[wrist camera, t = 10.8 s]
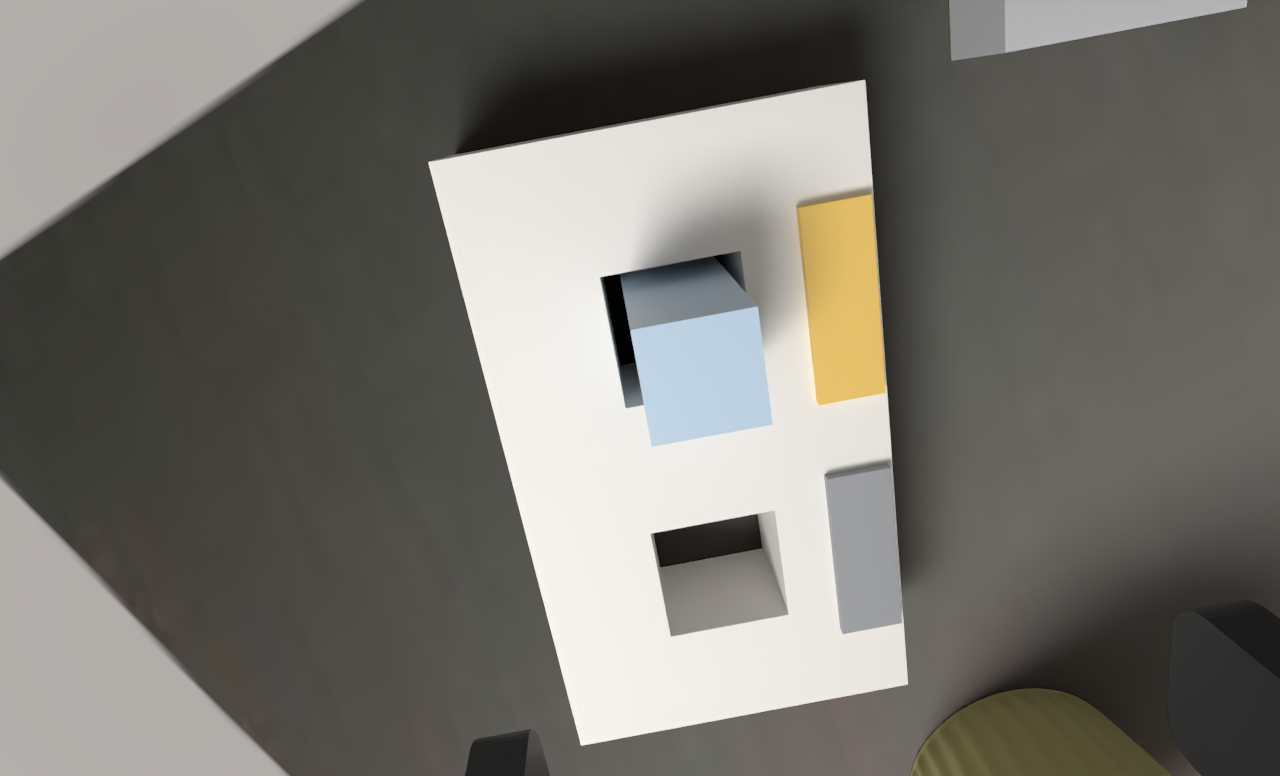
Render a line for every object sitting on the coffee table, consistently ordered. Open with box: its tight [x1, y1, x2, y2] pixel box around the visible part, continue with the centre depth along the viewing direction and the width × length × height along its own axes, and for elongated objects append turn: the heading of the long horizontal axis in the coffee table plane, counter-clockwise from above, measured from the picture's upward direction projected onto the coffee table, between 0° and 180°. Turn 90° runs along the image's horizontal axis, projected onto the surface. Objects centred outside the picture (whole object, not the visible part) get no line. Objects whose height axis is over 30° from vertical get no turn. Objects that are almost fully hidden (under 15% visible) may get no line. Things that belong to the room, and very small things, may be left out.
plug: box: [620, 256, 773, 447], centre depth 27 cm, size 4×4×10 cm
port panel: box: [428, 80, 908, 746], centre depth 30 cm, size 14×24×5 cm, turn 10°
